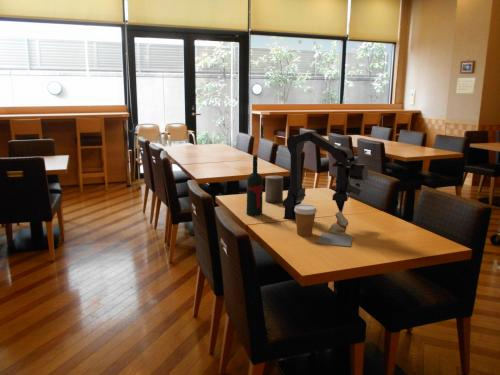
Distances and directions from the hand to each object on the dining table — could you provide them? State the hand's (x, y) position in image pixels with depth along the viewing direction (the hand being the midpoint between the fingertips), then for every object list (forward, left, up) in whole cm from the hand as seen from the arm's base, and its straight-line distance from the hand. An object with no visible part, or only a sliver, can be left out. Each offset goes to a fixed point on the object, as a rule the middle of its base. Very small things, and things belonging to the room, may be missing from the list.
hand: (340, 212), depth 195 cm
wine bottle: (-42, +8, -8) cm, 44 cm away
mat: (0, -17, -8) cm, 18 cm away
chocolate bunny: (0, -7, -8) cm, 10 cm away
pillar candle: (-40, +37, -8) cm, 55 cm away
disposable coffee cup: (-14, -13, -8) cm, 20 cm away
